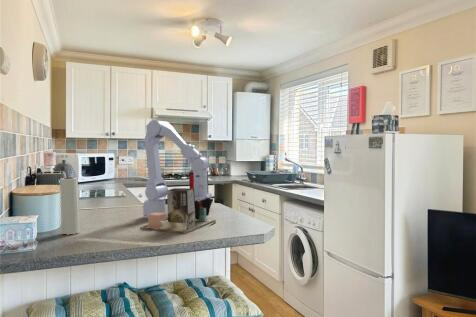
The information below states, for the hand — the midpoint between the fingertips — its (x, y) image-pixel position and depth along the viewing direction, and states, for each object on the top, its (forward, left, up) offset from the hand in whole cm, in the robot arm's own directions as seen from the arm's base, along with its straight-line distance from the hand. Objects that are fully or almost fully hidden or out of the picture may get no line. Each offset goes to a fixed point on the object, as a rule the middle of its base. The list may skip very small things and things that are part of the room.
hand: (201, 217), depth 146 cm
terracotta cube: (-10, -16, -1) cm, 19 cm away
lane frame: (-4, -10, -2) cm, 11 cm away
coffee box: (0, -14, -2) cm, 14 cm away
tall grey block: (-37, -34, -2) cm, 50 cm away
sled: (0, -10, -2) cm, 10 cm away
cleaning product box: (-15, +22, -2) cm, 26 cm away
